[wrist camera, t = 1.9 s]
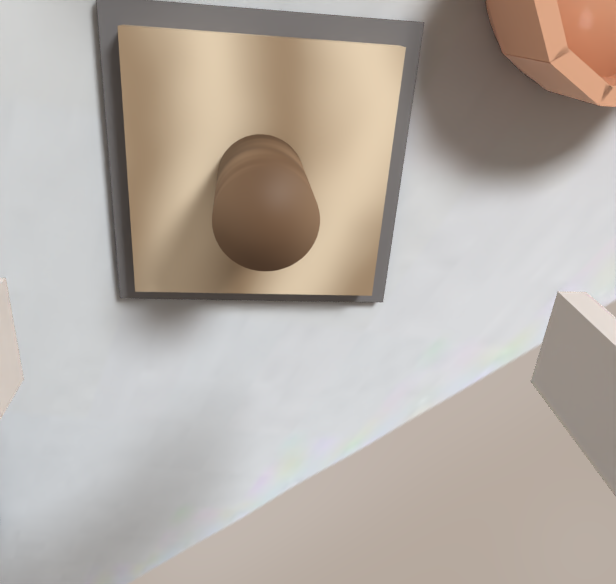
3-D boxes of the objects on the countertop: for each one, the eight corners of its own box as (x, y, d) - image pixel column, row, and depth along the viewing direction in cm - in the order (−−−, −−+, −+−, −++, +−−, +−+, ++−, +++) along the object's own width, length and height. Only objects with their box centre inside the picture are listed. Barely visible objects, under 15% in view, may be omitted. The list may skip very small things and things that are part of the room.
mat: (122, 292, 30) (120, 297, 30) (99, -4, 24) (96, -4, 24) (380, 297, 32) (382, 302, 32) (420, 22, 26) (424, 22, 26)
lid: (138, 281, 30) (111, 358, 23) (122, 24, 24) (81, 33, 18) (367, 285, 31) (400, 358, 25) (398, 45, 26) (451, 60, 19)
